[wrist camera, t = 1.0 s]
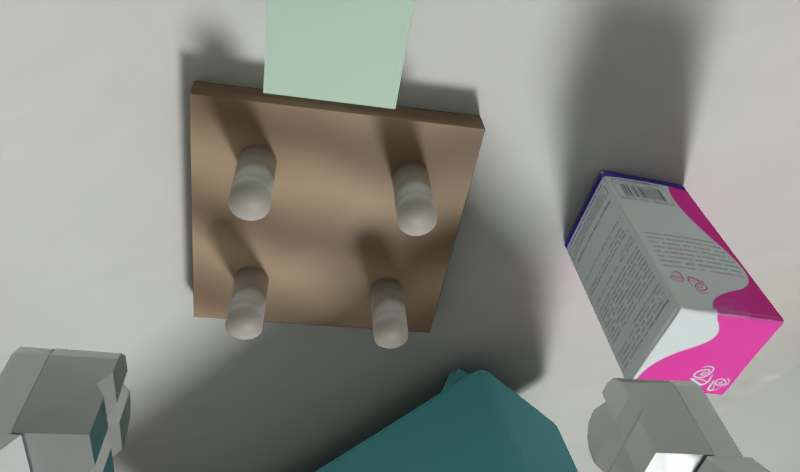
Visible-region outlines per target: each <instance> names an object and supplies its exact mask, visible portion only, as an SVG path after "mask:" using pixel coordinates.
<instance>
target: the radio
mask: <svg viewBox="0 0 800 472" xmlns="http://www.w3.org/2000/svg"><path fill="white" fill-rule="evenodd" d="M315 472H578V471H577V469H576V467H575V464H574V462H573V460H572V458H571V456H570V454H569V451H568V449H567V447H566V445H565V443H564V441H563V438H562V436H561V434H560V432H559V430H558V428H557V426H556V425H555V424H554V423H553V422H552V421H551V420H549V419H548V418H547V417H546V416H544V415H543V414H542V413H540V412H539V411H538V410H537V409H535V408H534V407H533V406H532V405H530V404H529V403H528V402H526V401H525V400H524V399H523V398H521V397H520V396H519V395H518V394H516V393H515V392H514V391H512V390H511V389H510V388H509V387H507V386H506V385H505V384H503V383H502V382H501V381H500V380H498V379H497V378H496V377H495V376H493V375H492V374H491V373H489V372H488V371H485V370H481V369H480V370H477V371H474V372H473V373H471V374H469V373H467V372H465V371H463V370H462V369H460V368H457V369H456V370H454V371H452V372H451V373H450V374H449V376H448V378H447V380H446V382H445V384H444V387H443V389H442V391H441V393H439V394H438V395H436V396H435V397H433V398H431V399H430V400H428V401H427V402H425V403H423V404H422V405H420V406H419V407H417V408H415V409H414V410H412V411H411V412H409V413H407V414H406V415H404V416H403V417H401V418H400V419H398V420H396V421H395V422H393V423H392V424H390V425H388V426H387V427H385V428H384V429H382V430H380V431H379V432H377V433H376V434H374V435H372V436H371V437H369V438H368V439H366V440H364V441H363V442H361V443H360V444H358V445H356V446H355V447H353V448H352V449H350V450H349V451H347V452H345V453H344V454H342V455H341V456H339V457H337V458H336V459H334V460H333V461H331V462H329V463H328V464H326V465H325V466H323V467H321V468H320V469H318V470H317V471H315Z"/></svg>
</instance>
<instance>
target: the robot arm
mask: <svg viewBox="0 0 800 472" xmlns="http://www.w3.org/2000/svg"><path fill="white" fill-rule="evenodd" d="M127 371H128V370H127V363H126V356H125V355H124V354H121V353H108V352H94V351H81V350H68V349H46V348H33V347H20V348H19V349H17V350H16V351H15V352H14V353H13V354H12V355H11V357H10V358H9V360H8V362H7V364H6V366H5V367H4V369H3V371H2V373H1V375H0V472H114V466H113V458H112V457H114V456H115V455H116V454H117V453H118V452H120V451H121V450H122V448H123V445H124V442H125V438H126V435H127V430H128V424H129V418H130V404H131V400H130V390H129V389H128V388H127V387H126V386H125V385H124V384H123V383H124V380H125V377H126V374H127ZM602 393H603V396H604V398H605V400H606V402H605V403H603V404H602V405H600V406H599V407H597V408H596V409H595V410H594V411H593V413H592V416H591V418H590V420H589V423H588V436H587V439H588V445H589V450H590V453H591V456H592V459H593V461H594V463H595V464H596V465H597V466H598V467H599V468H600V469H601V470H602V471H603V472H770V471H769V470H767V469H766V468H765V467H763V466H762V465H760V464H759V463H758V462H756V461H755V460H754V459H753V458H748V457H743V456H742V454H741V452H740V451H739V449H738V447H737V446H736V444H735V443H734V441H733V439H732V437H731V436H730V434H729V433H728V431H727V429H726V428H725V426H724V424H723V423H722V421H721V419H720V418H719V416H718V414H717V413H716V411H715V410H714V408H713V406H712V405H711V403H710V401H709V400H708V398H707V396H706V395H705V393H704V391H703V390H702V388H701V387H700V386H699V385H698V384H696V383H695V382H694V381H673V380H666V381H664V380H650V379H625V378H613V379H612V380H610V381H609V382H608V383H607V384H606V386H605V388H604V390H603V392H602Z"/></svg>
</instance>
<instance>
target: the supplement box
mask: <svg viewBox="0 0 800 472" xmlns="http://www.w3.org/2000/svg"><path fill="white" fill-rule="evenodd" d="M565 247H566V249H567V251H568V253H569V256H570V258H571V260H572V262H573V264H574V267H575V269H576V271H577V273H578V275H579V278H580V280H581V282H582V284H583V286H584V289H585V291H586V293H587V295H588V298H589V300H590V302H591V304H592V306H593V308H594V311H595V313H596V315H597V317H598V320H599V322H600V324H601V326H602V329H603V331H604V333H605V335H606V337H607V340H608V342H609V344H610V346H611V349H612V351H613V353H614V355H615V357H616V360H617V362H618V364H619V366H620V368H621V371H622V373H623V375H624V378H625V379H650V380H664V381H666V380H673V381H694V382H695V383H696V384H698V385H699V386H700V387H701V388H702V390H703V391H704V393H711V394H720V395H722V394H724V392H725V391H726V390H727V389H728V388H729V387H730V386H731V384H732V383H733V382H734V381H735V379H736V378H737V377H738V376H739V374H740V373H741V372H742V371H743V369H744V368H745V367H746V366H747V364H748V363H749V362H750V361H751V360H752V359H753V357H754V356H755V355H756V354H757V353H758V351H759V350H760V349H761V348H762V347H763V346H764V345H765V343H766V342H767V341H768V340H769V339H770V338H771V336H772V335H773V334H774V333H775V332H776V331H777V330H778V329H779V327H780V326H781V325H782V324H783V322H784V320H783V319H782V317H781V316H780V314H779V313H778V312H777V311H776V309H775V308H774V307H773V305H772V304H771V303H770V301H769V300H768V299H767V297H766V296H765V295H764V294H763V292H762V291H761V290H760V288H759V287H758V286H757V284H756V283H755V282H754V280H753V279H752V278H751V276H750V275H749V274H748V272H747V271H746V270H745V268H744V267H743V266H742V264H741V263H740V262H739V260H738V259H737V258H736V256H735V255H734V254H733V252H732V251H731V250H730V248H729V247H728V246H727V244H726V243H725V242H724V240H723V239H722V238H721V236H720V235H719V234H718V232H717V231H716V230H715V228H714V227H713V226H712V224H711V223H710V222H709V220H708V219H707V218H706V217H705V215H704V214H703V213H702V211H701V210H700V208H699V207H698V206H697V204H696V203H695V202H694V200H693V199H692V198H691V196H690V195H689V194H688V192H687V191H686V189H685V188H684V187H683V186H681V185H677V184H671V183H666V182H661V181H656V180H649V179H645V178H640V177H634V176H628V175H623V174H618V173H612V172H607V171H601V172H600V174H599V175H598V177H597V179H596V181H595V183H594V185H593V187H592V189H591V191H590V193H589V195H588V197H587V199H586V202H585V203H584V206H583V208H582V209H581V211H580V213H579V216H578V217H577V219H576V221H575V223H574V225H573V227H572V229H571V231H570V233H569V235H568V237H567V239H566V241H565Z"/></svg>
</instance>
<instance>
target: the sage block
mask: <svg viewBox="0 0 800 472" xmlns="http://www.w3.org/2000/svg"><path fill="white" fill-rule="evenodd" d="M414 3H415V0H268V6H267V26H266V45H265V65H264V85H263V93H268V94H276V95H284V96H292V97H301V98H309V99H317V100H325V101H333V102H341V103H350V104H358V105H366V106H374V107H382V108H390V109H396V103H397V97H398V92H399V86H400V81H401V75H402V70H403V64H404V59H405V53H406V47H407V42H408V36H409V31H410V25H411V20H412V14H413V9H414Z"/></svg>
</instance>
